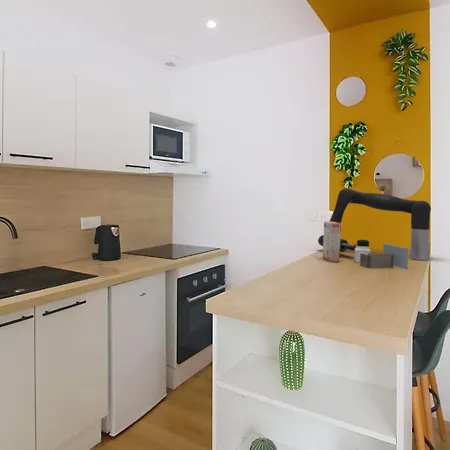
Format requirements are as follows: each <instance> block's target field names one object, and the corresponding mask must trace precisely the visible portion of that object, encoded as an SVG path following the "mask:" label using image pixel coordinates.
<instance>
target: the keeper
mask: <svg viewBox="0 0 450 450" xmlns="http://www.w3.org/2000/svg"><path fill="white" fill-rule="evenodd" d="M393 257H394V254H393V253H383V252H382V253H379V252H378V253H372V252H371V254H368V255H366V254H360V263H359V266H361V267H363V268H367V269H385V268H387V269H389V268H390V269H391V268H394V265H393Z"/></svg>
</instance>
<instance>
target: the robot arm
mask: <svg viewBox="0 0 450 450" xmlns="http://www.w3.org/2000/svg"><path fill="white" fill-rule="evenodd" d="M349 204H357V205H363V206H366V207H369V208H372V209H376V210H381V211H387V212H401V213H407V214H411V216H410V218H411V219H410V244H409V259H410V260H414V259H415V260H416V261H429V260H430V255H431V254H430V252H431V243H430V221H431V219H430V218H431V211H432V208H431V205H430V203H429V202H428V201H425V200H414V199H413V200H412V199H404V198H401V197H397V196H394V195H389V194H385V193H377V192H376V193H374V192H363V191H358V190H354V189H351V188H348V187H346V188H342V189H341V190H339V191H338V195H337V198H336V204H335V206H334V209H333V212H332V214H331V216H330V219H329V221H328V222H337V223H341V224H342V221H343V218H344V213H345V212H346V211H345V210H346V208H347V207H348V206H349ZM323 238H324V234H323V235H320V236H319V237H318V239H317V242H318V244H319V245H320V247H321V246H322V247H323ZM355 248H357V243H356V244H353V245H352V244H351V243H349V242H348V241H347V240H346V239H343V238H340V253H344V252H347V251H351V252H352V251H353V252H355Z"/></svg>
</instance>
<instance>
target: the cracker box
mask: <svg viewBox="0 0 450 450" xmlns="http://www.w3.org/2000/svg"><path fill="white" fill-rule="evenodd" d="M341 232H342V222H341V223H337V222H329V221H324V222H323V235H324V238H323V246H322V259H324V260H326V261H327V262H330V263H340V253H341V252H340V239H341V234H342V233H341Z"/></svg>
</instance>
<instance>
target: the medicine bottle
mask: <svg viewBox="0 0 450 450" xmlns="http://www.w3.org/2000/svg"><path fill="white" fill-rule="evenodd" d="M356 245H357V246H356V248H355V251H354V259H353V261H354V262H355V263H356V264H360V254H366V255H368V254H372V251H371V249H370V241H369V240H368V239H357V241H356Z"/></svg>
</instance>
